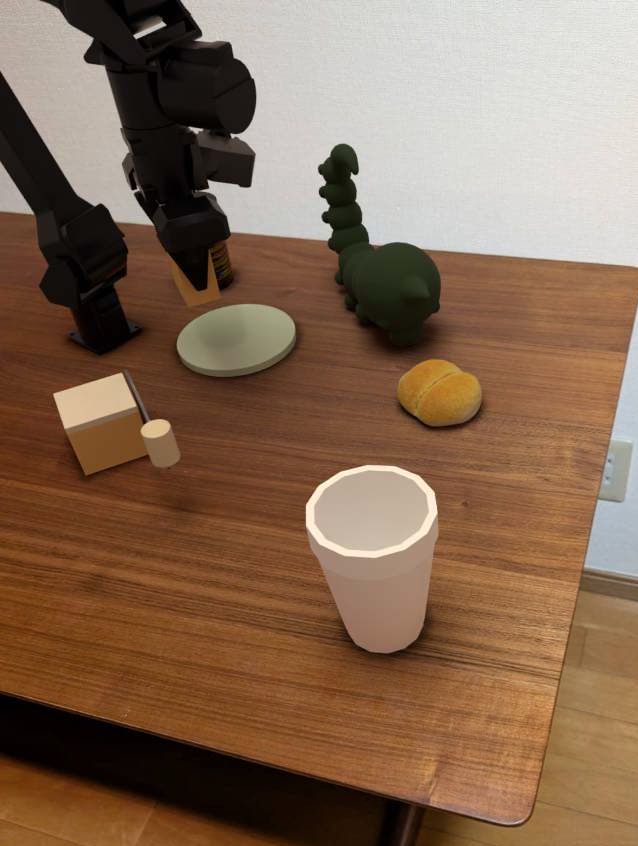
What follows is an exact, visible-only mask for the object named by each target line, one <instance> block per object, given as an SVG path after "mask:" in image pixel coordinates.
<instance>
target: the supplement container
mask: <svg viewBox="0 0 638 846" xmlns="http://www.w3.org/2000/svg"><path fill="white" fill-rule="evenodd" d="M204 195H206V196H207V197H209V198H211V199H212V200H214V201H215V202H217V203H218V204H219V202H218V198H217V197H216V195H215V194H213V193H211V192H207V191H203V190H202V191H196V192H195V194H194V196H195V197H200V196H204ZM209 251H210V255H211V259H212V263H213V267H214V271H215V275H216V280H217V284H218V288H219V290H220V289H223V288H225V287H226V286H228V285H229V284H230V282H231V281H232V279H233V277H234V269H233V265H232V262H231V257H230V252H229V248H228V244H227V240H223V241H219V242H215V243H211V244H210V247H209Z"/></svg>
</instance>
